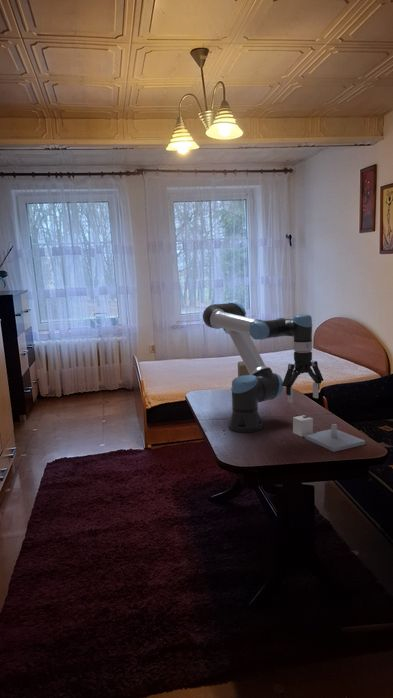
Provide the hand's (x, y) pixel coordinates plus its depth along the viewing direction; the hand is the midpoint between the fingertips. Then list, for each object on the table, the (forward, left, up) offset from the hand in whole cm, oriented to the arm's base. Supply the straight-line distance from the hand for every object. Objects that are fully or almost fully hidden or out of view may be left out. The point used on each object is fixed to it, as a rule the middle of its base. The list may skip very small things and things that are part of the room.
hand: (303, 400), depth 197 cm
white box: (0, 0, -15) cm, 15 cm away
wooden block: (+13, +68, -15) cm, 71 cm away
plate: (+5, -14, -15) cm, 21 cm away
